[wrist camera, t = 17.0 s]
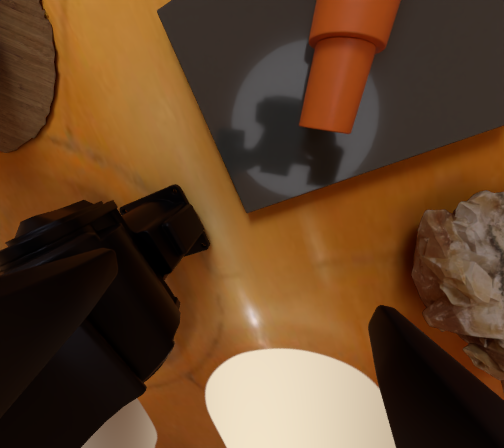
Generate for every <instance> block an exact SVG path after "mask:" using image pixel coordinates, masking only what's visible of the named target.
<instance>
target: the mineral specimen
mask: <svg viewBox="0 0 504 448" xmlns="http://www.w3.org/2000/svg"><path fill="white" fill-rule="evenodd" d="M412 278H413V280H414V283H415V285H416V287H417V290H418V293H419V296H420V298H421V299H422V301H423V303H424V304H425V306H426V307H427V308H426V309H425V310H424V311H423V312H422V314H423V316H424V318H425V320H426V322H427V323H428V324H429V326H431V327H435V328H438V329H440V330H441V331H442V332H443V331H450V332H454V333H457V334H458V335H459V336H460V338H462V339H463V340H464V341H466V342H467V343H468V346H466V347H465V348H463V351H464V352H465V353H466V354H467V355H468V356H469V357H470V358H471V360H472V362H473V364H474V366H476V367H478V368H479V369H481V370H483V371H485V372H487V373H488V374H490V375H492V376H493V377H495V378H496V379H498V380H501V384H502V387H503V392H504V192H500V193H492V192H489V191H487V190H486V191H481V192H478V193H476V194H474V195H473V196H472V197H471V198H470V199H469V200H468V201H467V202H460V203H459V205H458V207H457V209H455V210H454V212H453V213H451V214H450V213H449V212H448V211H447V210H426V211H425V212H424V214H423V216H422V219H421V222H420V225H419V228H418V234H417V239H416V247H415V252H414V266H413V271H412Z"/></svg>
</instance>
